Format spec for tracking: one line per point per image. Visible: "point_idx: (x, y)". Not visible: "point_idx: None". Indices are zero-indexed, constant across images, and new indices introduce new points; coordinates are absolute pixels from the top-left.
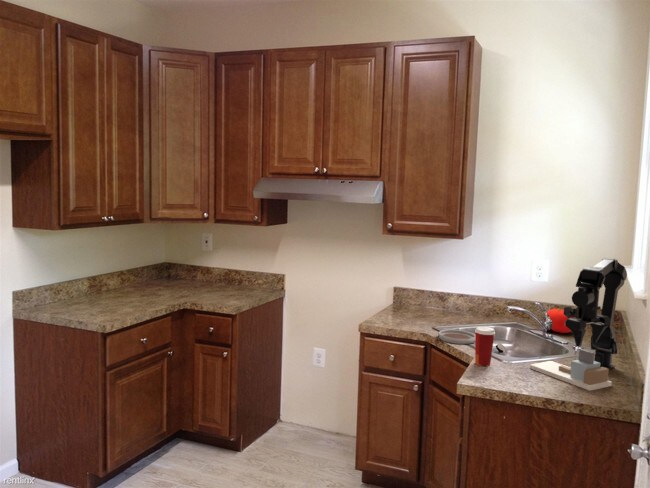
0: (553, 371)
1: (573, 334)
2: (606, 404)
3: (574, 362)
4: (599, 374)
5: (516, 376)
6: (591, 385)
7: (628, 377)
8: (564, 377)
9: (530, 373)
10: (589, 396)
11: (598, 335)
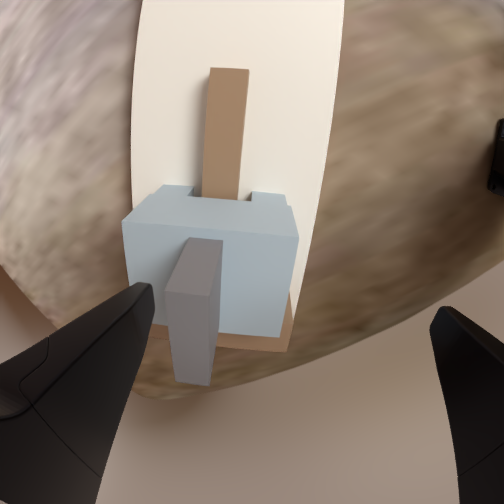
0: (156, 78)
1: (13, 361)
2: None
3: (125, 244)
4: None
5: (19, 48)
6: None
7: (451, 285)
8: (132, 171)
9: (91, 22)
10: None
11: (452, 421)
